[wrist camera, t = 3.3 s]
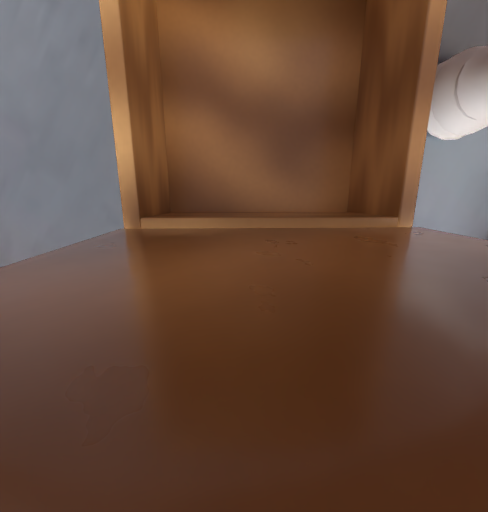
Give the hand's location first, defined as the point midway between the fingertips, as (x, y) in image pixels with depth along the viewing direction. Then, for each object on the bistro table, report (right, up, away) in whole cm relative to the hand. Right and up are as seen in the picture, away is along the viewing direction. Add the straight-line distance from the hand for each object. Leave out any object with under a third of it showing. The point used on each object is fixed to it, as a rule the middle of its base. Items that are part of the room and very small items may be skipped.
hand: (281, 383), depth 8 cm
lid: (0, +4, -5) cm, 6 cm away
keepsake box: (0, +13, +6) cm, 14 cm away
